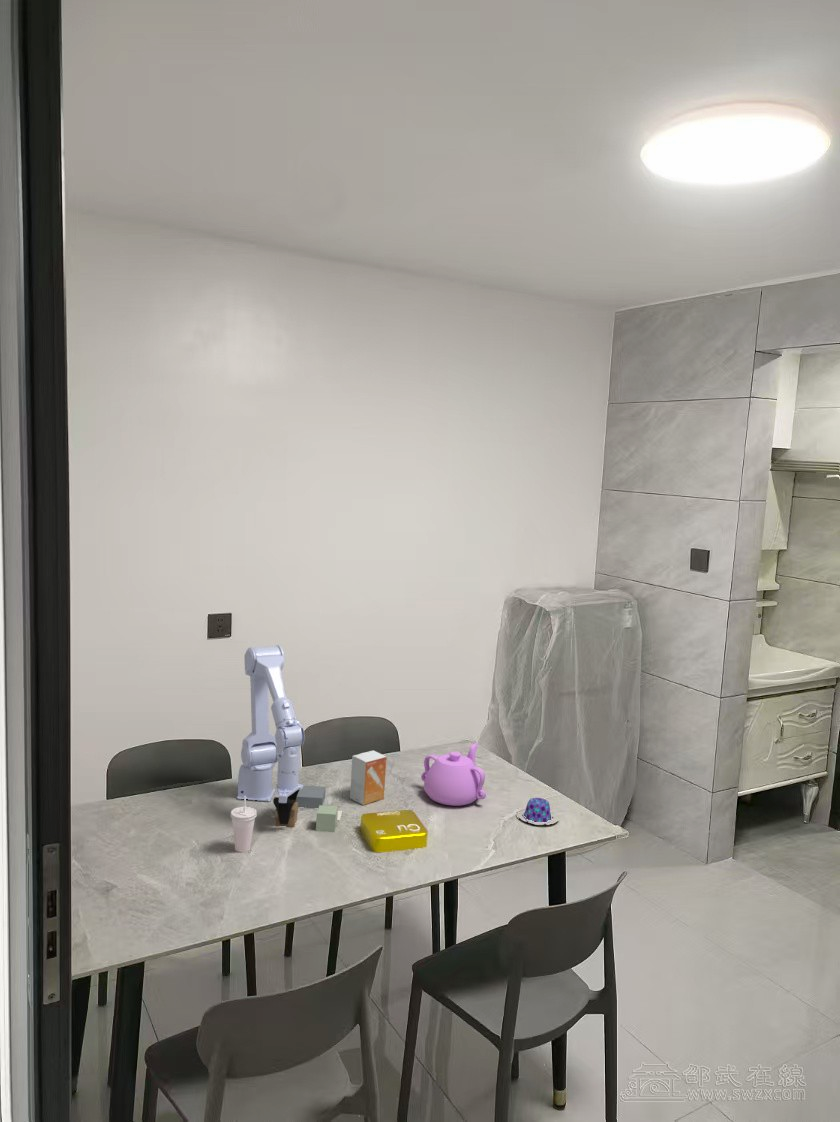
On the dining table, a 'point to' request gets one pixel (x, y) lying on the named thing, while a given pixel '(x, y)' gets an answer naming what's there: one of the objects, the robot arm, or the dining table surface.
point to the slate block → (311, 796)
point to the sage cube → (326, 818)
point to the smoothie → (243, 826)
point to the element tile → (393, 831)
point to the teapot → (454, 778)
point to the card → (339, 815)
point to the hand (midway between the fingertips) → (286, 817)
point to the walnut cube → (292, 817)
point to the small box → (368, 777)
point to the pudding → (538, 810)
